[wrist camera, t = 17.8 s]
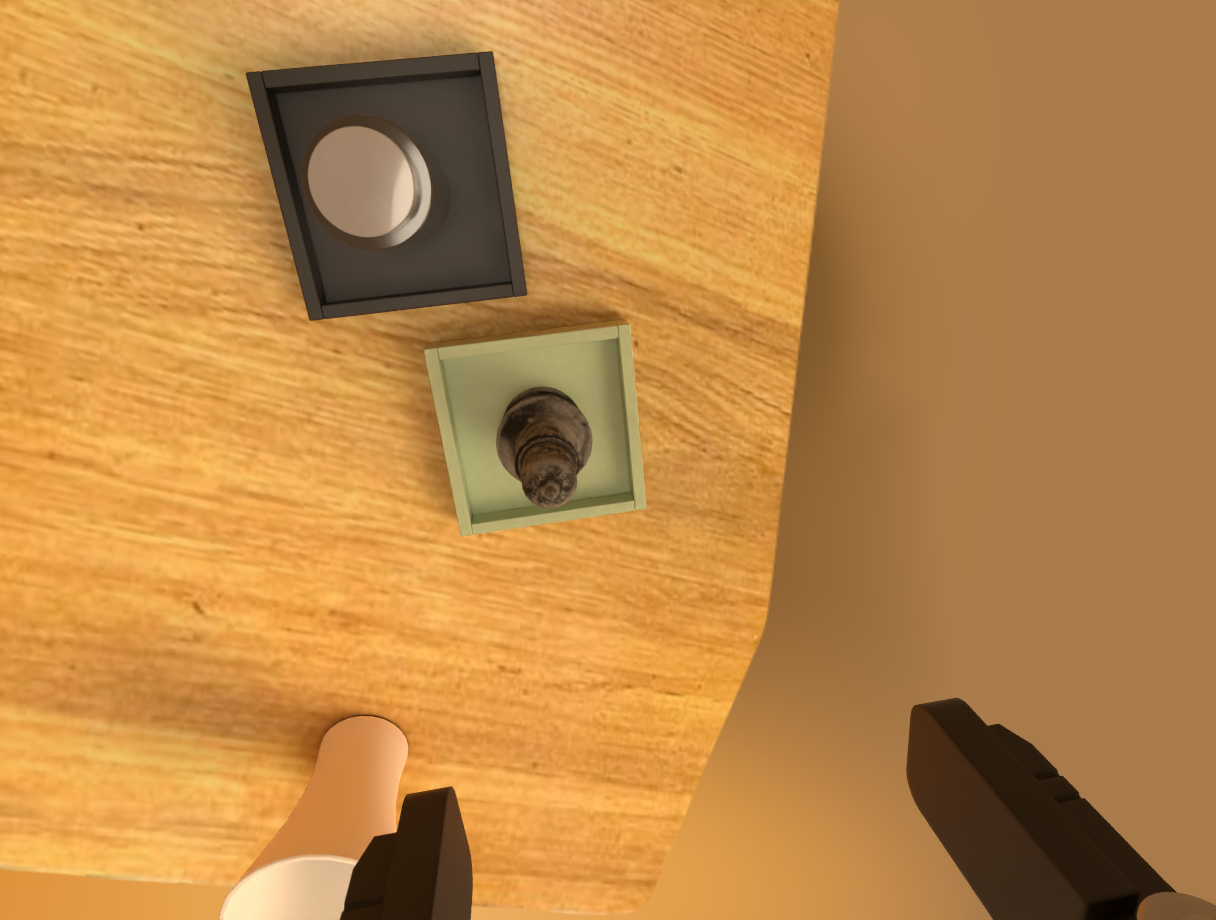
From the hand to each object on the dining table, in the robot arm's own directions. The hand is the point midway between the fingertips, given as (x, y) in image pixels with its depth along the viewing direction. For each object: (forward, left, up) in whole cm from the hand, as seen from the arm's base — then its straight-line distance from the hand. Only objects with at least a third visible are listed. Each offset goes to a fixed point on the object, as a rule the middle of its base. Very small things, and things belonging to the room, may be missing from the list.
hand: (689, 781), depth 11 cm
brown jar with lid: (+8, -11, -33) cm, 36 cm away
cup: (+19, +28, -34) cm, 48 cm away
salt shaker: (+2, +3, -33) cm, 33 cm away
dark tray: (+8, -11, -34) cm, 36 cm away
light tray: (+2, +4, -34) cm, 34 cm away
